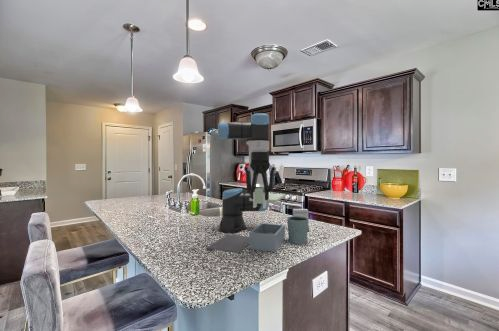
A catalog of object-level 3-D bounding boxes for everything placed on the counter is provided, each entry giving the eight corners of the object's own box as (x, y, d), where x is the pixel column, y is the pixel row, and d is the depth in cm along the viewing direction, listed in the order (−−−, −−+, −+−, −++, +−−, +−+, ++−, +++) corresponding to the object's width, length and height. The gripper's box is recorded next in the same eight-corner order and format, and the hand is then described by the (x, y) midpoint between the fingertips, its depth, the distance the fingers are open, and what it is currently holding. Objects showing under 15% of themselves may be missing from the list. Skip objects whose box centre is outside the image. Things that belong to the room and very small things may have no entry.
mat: (206, 250, 110) (206, 247, 110) (227, 236, 131) (227, 234, 131) (239, 254, 105) (239, 252, 105) (256, 239, 125) (256, 237, 125)
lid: (245, 204, 105) (245, 188, 105) (261, 196, 126) (261, 183, 126) (272, 206, 101) (272, 189, 101) (284, 197, 122) (285, 184, 122)
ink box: (307, 228, 145) (307, 208, 145) (308, 231, 141) (308, 210, 140) (292, 228, 146) (292, 208, 146) (293, 230, 141) (293, 209, 141)
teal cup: (295, 247, 113) (295, 221, 113) (282, 241, 122) (282, 217, 122) (312, 244, 118) (312, 219, 118) (299, 238, 127) (299, 215, 127)
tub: (249, 250, 110) (249, 232, 109) (261, 238, 126) (261, 223, 126) (275, 254, 105) (275, 235, 105) (284, 241, 122) (284, 225, 122)
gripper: (238, 151, 103) (238, 207, 104) (277, 151, 97) (277, 210, 98) (244, 151, 110) (244, 204, 111) (281, 151, 104) (281, 207, 105)
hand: (259, 207), depth 104 cm, fingers closed on lid, 3 cm apart
